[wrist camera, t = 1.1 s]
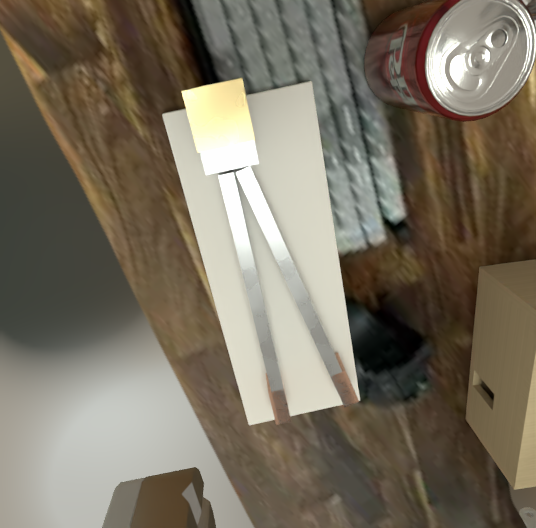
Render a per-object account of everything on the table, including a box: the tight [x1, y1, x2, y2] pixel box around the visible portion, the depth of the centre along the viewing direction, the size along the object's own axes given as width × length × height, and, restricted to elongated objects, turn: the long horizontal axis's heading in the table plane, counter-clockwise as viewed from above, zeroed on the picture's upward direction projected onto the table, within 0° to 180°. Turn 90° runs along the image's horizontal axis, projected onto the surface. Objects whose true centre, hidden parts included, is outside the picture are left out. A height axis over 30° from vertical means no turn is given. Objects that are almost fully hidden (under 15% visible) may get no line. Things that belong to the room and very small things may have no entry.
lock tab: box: [182, 78, 255, 153], centre depth 32 cm, size 4×4×2 cm
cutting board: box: [162, 81, 360, 425], centre depth 43 cm, size 32×12×1 cm, turn 11°
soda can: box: [364, 0, 536, 122], centre depth 32 cm, size 7×7×12 cm
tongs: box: [200, 140, 291, 425], centre depth 41 cm, size 30×4×4 cm, turn 11°
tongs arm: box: [235, 166, 359, 407], centre depth 42 cm, size 25×2×3 cm, turn 23°
